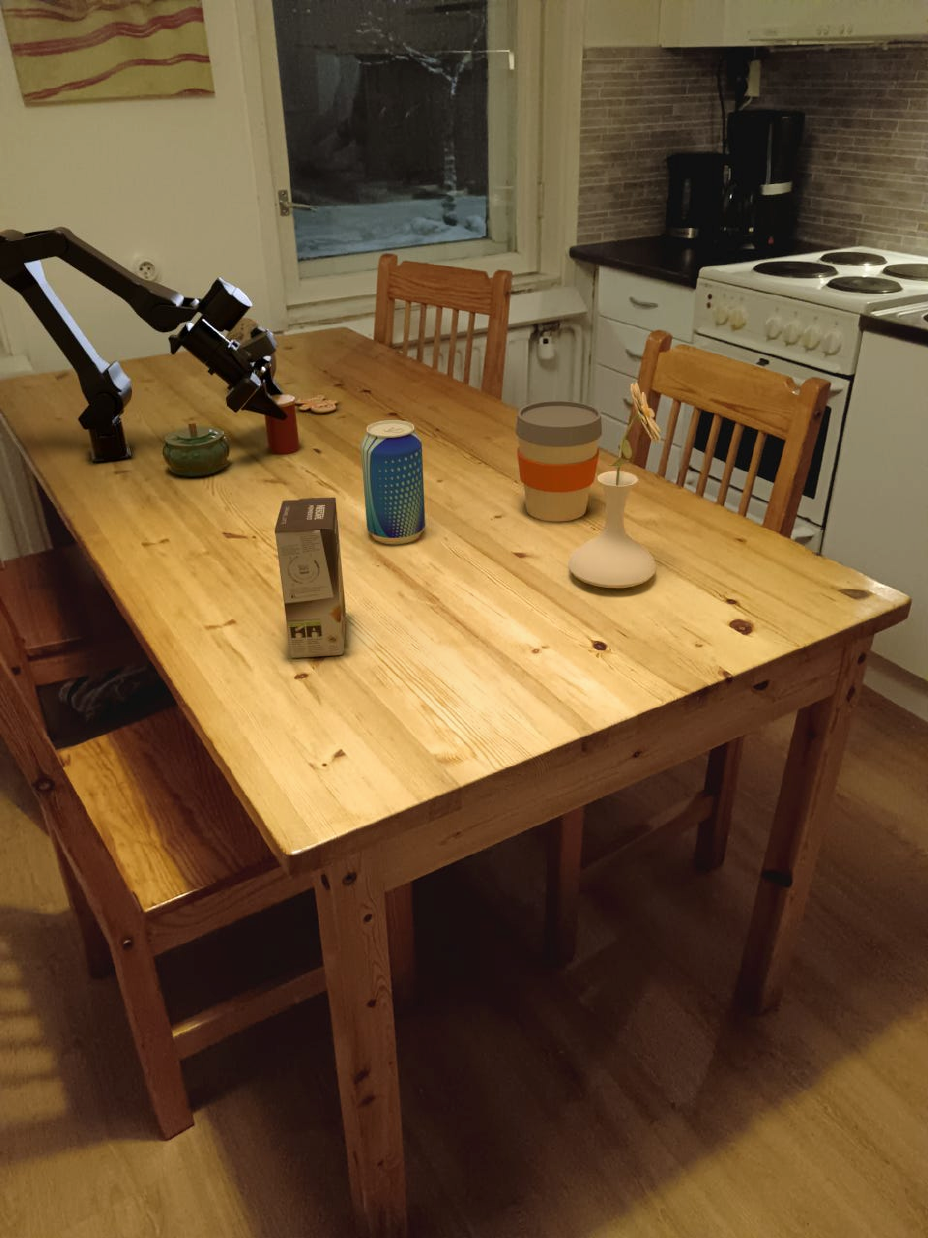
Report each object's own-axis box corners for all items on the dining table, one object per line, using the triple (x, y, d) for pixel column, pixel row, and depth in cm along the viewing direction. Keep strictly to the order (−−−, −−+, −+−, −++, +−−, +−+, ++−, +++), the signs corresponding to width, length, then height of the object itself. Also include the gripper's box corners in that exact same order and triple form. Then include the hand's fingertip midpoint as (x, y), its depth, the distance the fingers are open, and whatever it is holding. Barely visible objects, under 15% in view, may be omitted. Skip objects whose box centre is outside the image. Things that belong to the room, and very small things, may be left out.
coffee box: (345, 655, 111) (333, 529, 103) (289, 659, 110) (273, 532, 102) (347, 616, 119) (336, 495, 111) (295, 619, 118) (280, 498, 110)
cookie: (325, 392, 196) (347, 404, 189) (325, 396, 197) (347, 408, 189) (287, 399, 192) (309, 411, 185) (288, 404, 193) (309, 416, 185)
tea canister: (265, 445, 172) (259, 396, 168) (296, 441, 174) (290, 392, 169) (271, 456, 168) (265, 405, 163) (303, 451, 169) (297, 401, 165)
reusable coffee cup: (552, 486, 153) (554, 394, 146) (614, 508, 145) (621, 412, 138) (497, 510, 146) (497, 414, 138) (560, 534, 138) (564, 434, 130)
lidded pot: (163, 462, 166) (154, 417, 162) (227, 453, 169) (220, 408, 165) (169, 484, 157) (160, 437, 153) (237, 474, 160) (230, 428, 156)
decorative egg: (254, 380, 208) (245, 309, 200) (290, 388, 202) (282, 316, 194) (216, 393, 200) (205, 320, 192) (252, 402, 195) (242, 327, 187)
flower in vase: (634, 605, 120) (649, 410, 107) (552, 583, 125) (558, 395, 112) (672, 564, 129) (691, 380, 117) (595, 545, 134) (605, 368, 122)
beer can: (381, 551, 134) (373, 442, 126) (358, 529, 141) (350, 424, 133) (435, 538, 137) (431, 431, 129) (410, 517, 144) (405, 414, 136)
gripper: (236, 329, 151) (313, 395, 157) (251, 303, 167) (321, 364, 173) (193, 380, 154) (271, 443, 160) (212, 350, 170) (282, 408, 177)
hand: (287, 412), depth 167 cm, fingers open, 6 cm apart
